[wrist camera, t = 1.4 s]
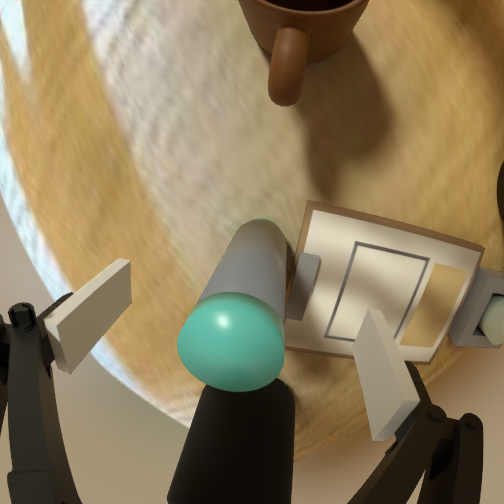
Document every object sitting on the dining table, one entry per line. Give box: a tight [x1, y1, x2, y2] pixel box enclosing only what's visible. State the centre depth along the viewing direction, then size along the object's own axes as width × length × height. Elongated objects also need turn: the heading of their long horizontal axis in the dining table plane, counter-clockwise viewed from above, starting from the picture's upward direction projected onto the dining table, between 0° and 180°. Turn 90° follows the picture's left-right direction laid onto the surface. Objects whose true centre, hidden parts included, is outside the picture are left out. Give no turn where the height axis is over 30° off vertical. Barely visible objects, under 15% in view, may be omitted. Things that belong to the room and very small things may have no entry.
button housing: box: [448, 266, 504, 348], centre depth 22 cm, size 8×8×2 cm
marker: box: [177, 219, 287, 392], centre depth 17 cm, size 4×4×14 cm
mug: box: [238, 0, 369, 106], centre depth 14 cm, size 12×8×9 cm, turn 171°
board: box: [284, 200, 485, 365], centre depth 24 cm, size 14×18×2 cm
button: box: [478, 293, 504, 345], centre depth 21 cm, size 4×4×3 cm
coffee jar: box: [167, 378, 295, 504], centre depth 23 cm, size 11×11×18 cm
